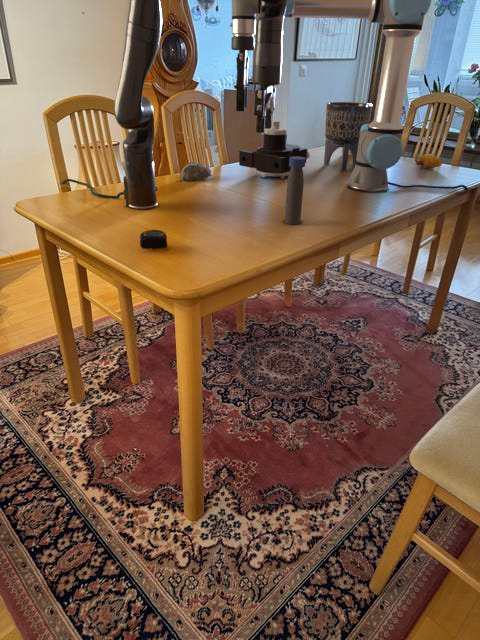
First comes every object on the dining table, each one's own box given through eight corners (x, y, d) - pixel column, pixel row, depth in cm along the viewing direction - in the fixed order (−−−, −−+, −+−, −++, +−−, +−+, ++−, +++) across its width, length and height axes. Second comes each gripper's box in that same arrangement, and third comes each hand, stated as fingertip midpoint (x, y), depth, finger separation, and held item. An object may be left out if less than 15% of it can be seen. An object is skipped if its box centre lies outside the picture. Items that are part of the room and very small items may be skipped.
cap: (286, 166, 130) (286, 158, 129) (293, 163, 133) (294, 155, 132) (300, 168, 128) (300, 160, 126) (307, 166, 131) (308, 157, 130)
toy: (416, 161, 206) (411, 154, 219) (419, 175, 209) (413, 167, 222) (442, 153, 203) (435, 147, 216) (444, 167, 206) (437, 160, 219)
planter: (313, 167, 208) (319, 103, 195) (331, 160, 222) (338, 101, 209) (353, 173, 199) (362, 107, 185) (369, 166, 213) (379, 104, 199)
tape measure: (140, 252, 115) (139, 238, 113) (141, 242, 120) (140, 229, 119) (167, 251, 116) (166, 237, 114) (167, 241, 121) (166, 228, 120)
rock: (203, 174, 190) (203, 158, 187) (216, 178, 185) (216, 162, 181) (177, 179, 183) (176, 162, 179) (189, 183, 177) (189, 166, 174)
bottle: (281, 222, 138) (286, 159, 129) (289, 218, 142) (293, 157, 132) (295, 225, 136) (301, 161, 127) (302, 221, 139) (308, 159, 130)
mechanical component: (240, 120, 182) (283, 115, 202) (239, 174, 192) (280, 164, 212) (283, 126, 170) (325, 120, 190) (280, 183, 180) (320, 171, 200)
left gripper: (259, 63, 125) (257, 126, 133) (246, 63, 113) (244, 133, 121) (286, 64, 123) (282, 128, 131) (275, 64, 111) (271, 135, 119)
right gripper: (234, 37, 155) (234, 105, 166) (227, 34, 134) (227, 112, 144) (256, 37, 155) (254, 106, 165) (253, 34, 133) (250, 113, 144)
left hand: (263, 130), depth 126 cm, fingers open, 8 cm apart
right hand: (241, 109), depth 155 cm, fingers open, 13 cm apart
